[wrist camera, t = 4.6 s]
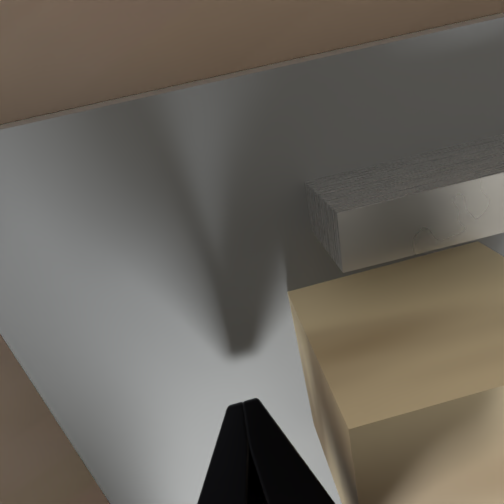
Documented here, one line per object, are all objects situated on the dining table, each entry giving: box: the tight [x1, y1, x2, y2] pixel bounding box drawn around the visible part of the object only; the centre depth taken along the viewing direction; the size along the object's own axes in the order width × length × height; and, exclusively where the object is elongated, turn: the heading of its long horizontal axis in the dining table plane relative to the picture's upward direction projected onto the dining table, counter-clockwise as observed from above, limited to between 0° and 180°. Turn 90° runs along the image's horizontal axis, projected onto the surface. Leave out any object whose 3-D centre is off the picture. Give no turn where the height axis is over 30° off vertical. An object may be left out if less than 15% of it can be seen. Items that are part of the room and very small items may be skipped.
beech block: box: [287, 241, 504, 504], centre depth 9 cm, size 5×5×4 cm
